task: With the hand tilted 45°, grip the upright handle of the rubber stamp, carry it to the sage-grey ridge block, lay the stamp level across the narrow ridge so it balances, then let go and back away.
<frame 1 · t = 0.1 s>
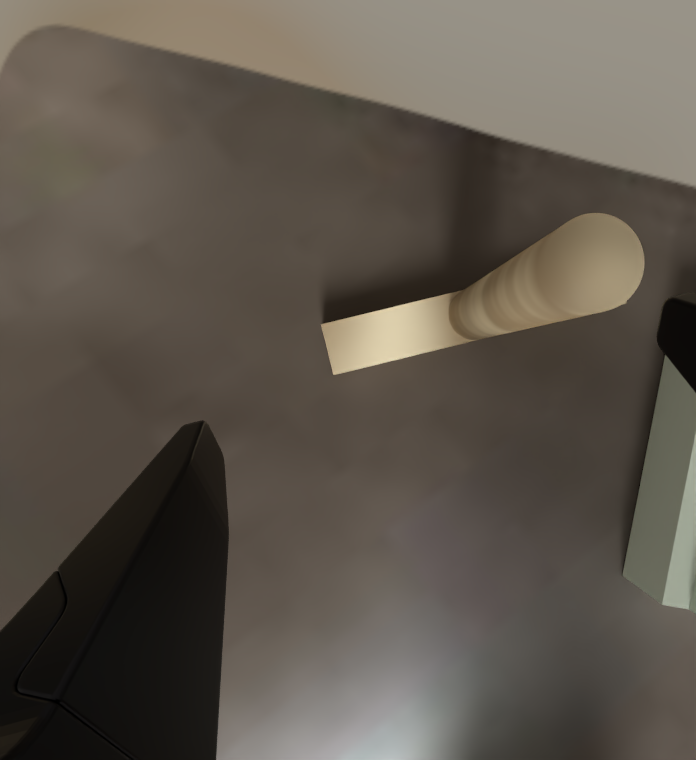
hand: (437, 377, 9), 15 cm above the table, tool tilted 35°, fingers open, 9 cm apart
rubber stamp: (463, 318, 24), on the table
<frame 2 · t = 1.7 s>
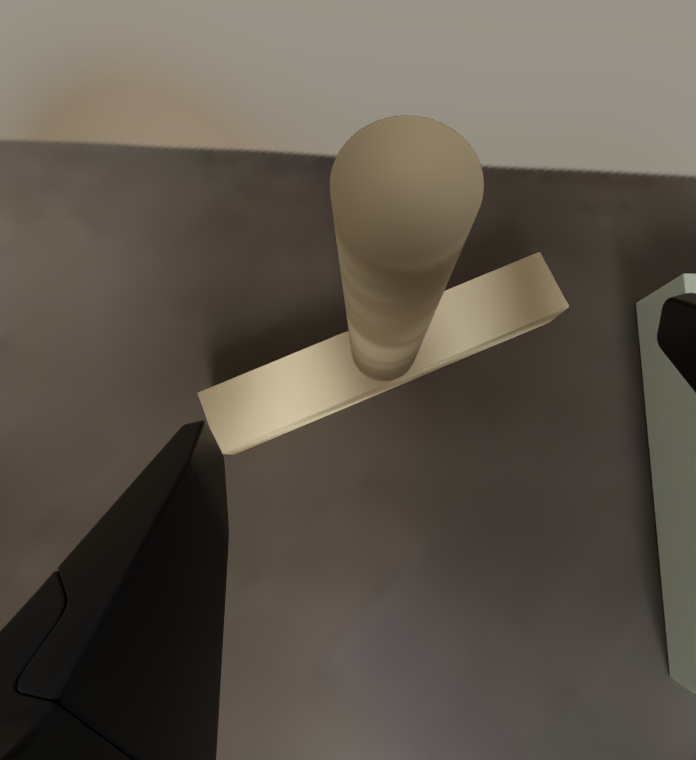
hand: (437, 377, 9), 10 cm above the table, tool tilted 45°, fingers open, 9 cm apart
rubber stamp: (382, 361, 20), on the table
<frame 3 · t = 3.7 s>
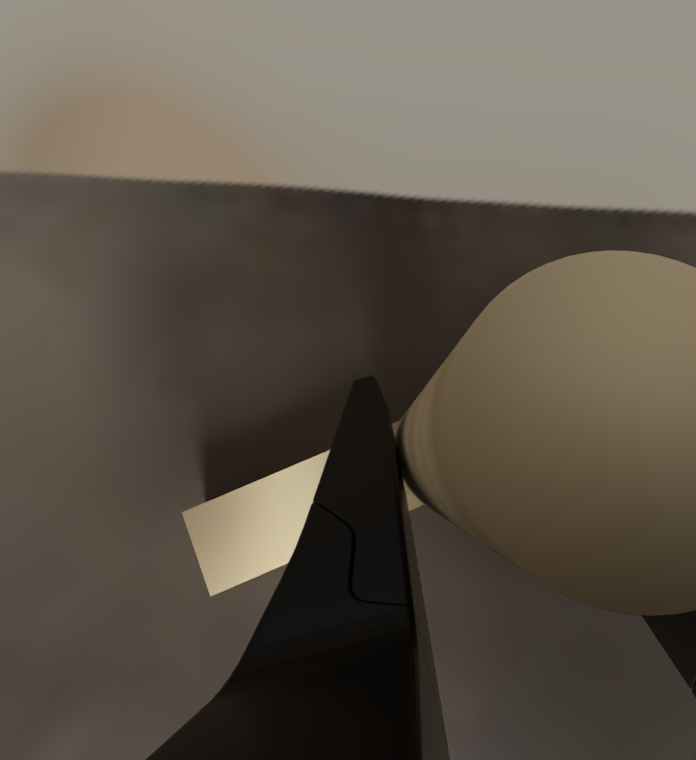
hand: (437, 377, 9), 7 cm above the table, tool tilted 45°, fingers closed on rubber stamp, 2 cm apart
rubber stamp: (419, 456, 15), on the table, touching gripper
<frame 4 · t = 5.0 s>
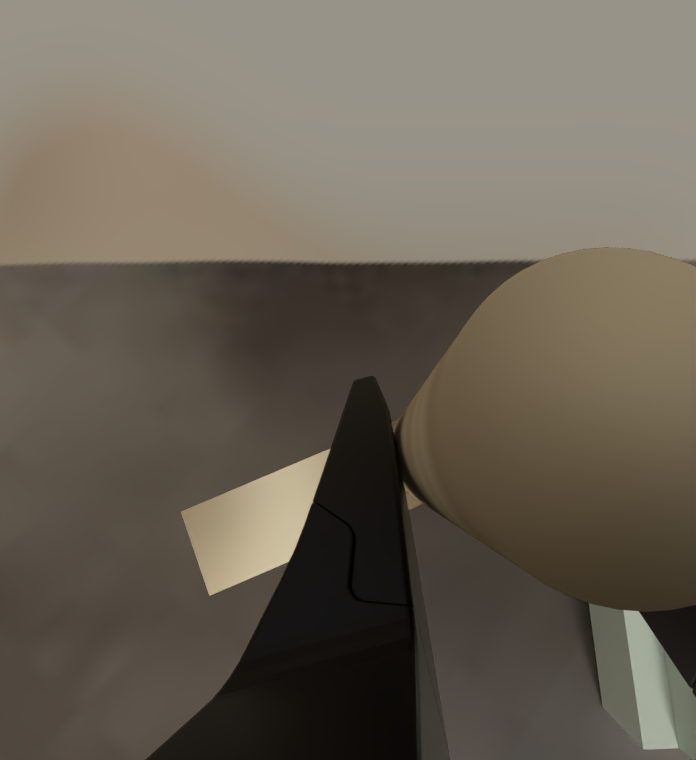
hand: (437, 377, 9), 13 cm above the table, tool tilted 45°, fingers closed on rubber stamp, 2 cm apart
rubber stamp: (418, 455, 15), point 7 cm above the table, touching gripper
ridge: (636, 531, 21), on the table
when the fingers open (12 cm above the table, at t = 6.3 s): rubber stamp stays where it is, resting on ridge.
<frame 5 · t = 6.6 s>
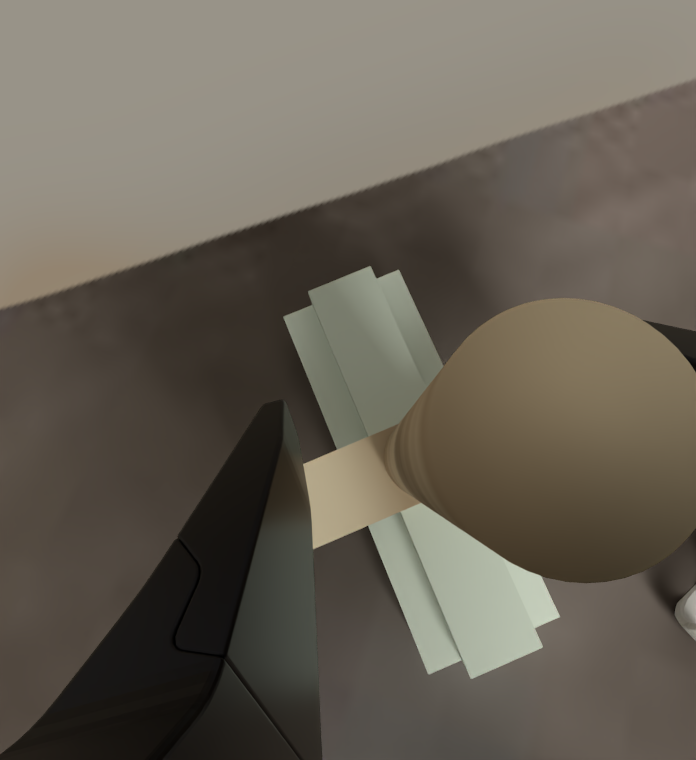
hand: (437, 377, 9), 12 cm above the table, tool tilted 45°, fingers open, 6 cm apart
rubber stamp: (417, 457, 16), point 4 cm above the table, touching ridge
ridge: (405, 458, 21), on the table
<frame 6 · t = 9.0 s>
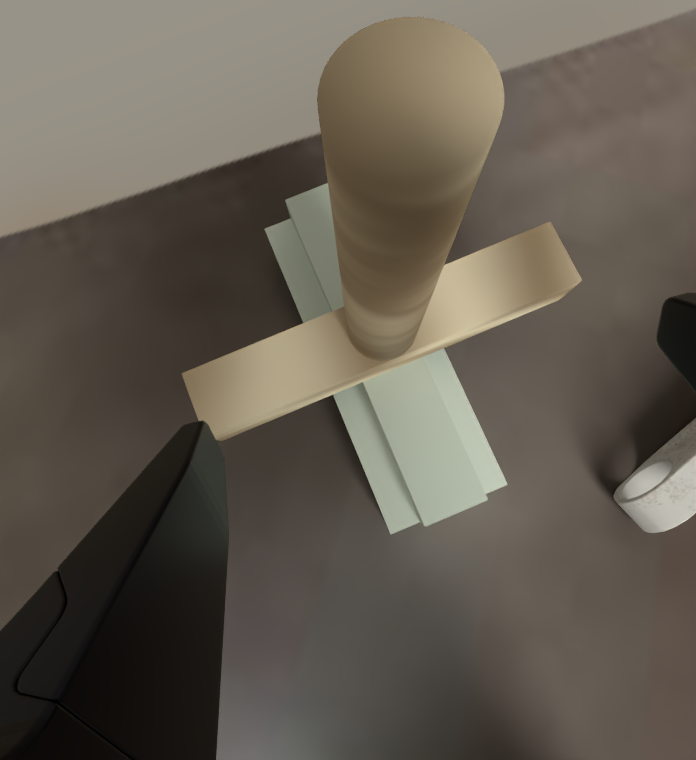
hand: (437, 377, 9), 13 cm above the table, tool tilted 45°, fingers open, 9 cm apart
rubber stamp: (380, 341, 18), point 4 cm above the table, touching ridge
ridge: (377, 364, 23), on the table
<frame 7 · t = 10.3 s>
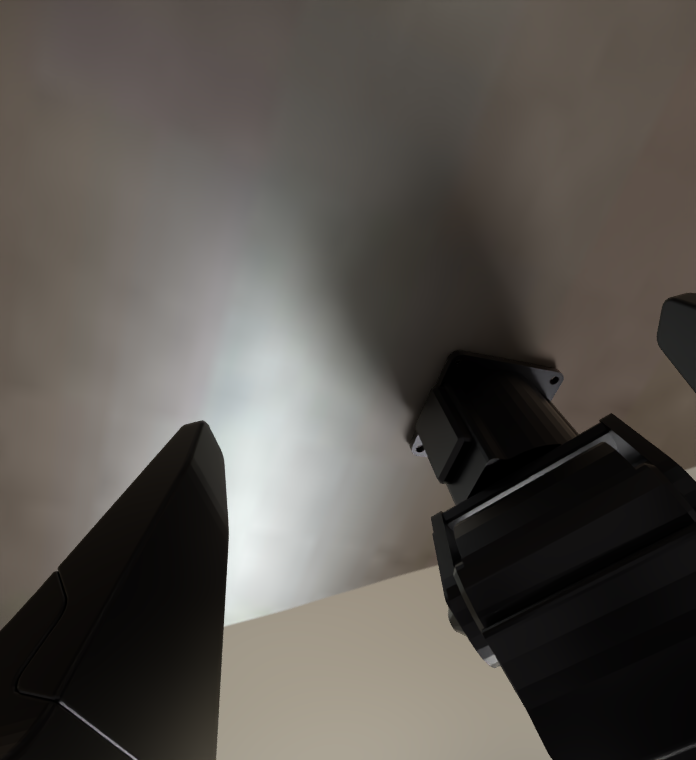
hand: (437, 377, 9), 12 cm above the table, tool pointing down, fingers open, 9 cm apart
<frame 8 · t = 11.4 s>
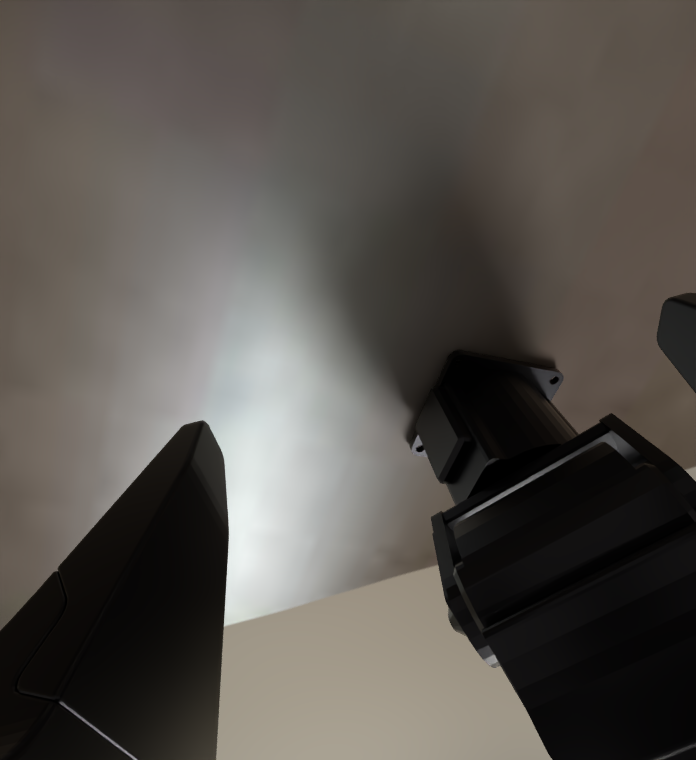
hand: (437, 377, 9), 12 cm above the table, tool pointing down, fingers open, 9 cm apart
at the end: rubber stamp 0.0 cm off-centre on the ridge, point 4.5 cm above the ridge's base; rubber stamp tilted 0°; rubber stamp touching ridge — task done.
